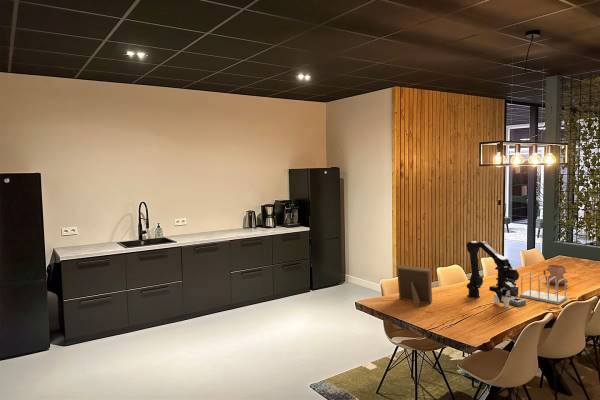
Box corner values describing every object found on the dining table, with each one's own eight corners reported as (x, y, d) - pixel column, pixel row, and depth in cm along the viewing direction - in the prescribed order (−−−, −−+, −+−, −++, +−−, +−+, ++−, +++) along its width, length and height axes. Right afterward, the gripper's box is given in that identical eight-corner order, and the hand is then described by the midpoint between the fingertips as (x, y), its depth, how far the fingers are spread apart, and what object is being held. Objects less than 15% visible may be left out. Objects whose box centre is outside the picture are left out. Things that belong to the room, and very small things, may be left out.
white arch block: (493, 303, 301) (493, 294, 300) (496, 302, 302) (496, 293, 302) (506, 307, 292) (507, 298, 292) (509, 307, 293) (509, 297, 293)
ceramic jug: (571, 284, 345) (572, 266, 344) (564, 287, 335) (565, 269, 334) (547, 280, 358) (547, 262, 357) (539, 283, 349) (540, 265, 348)
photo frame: (401, 297, 316) (401, 263, 314) (432, 302, 305) (432, 266, 303) (394, 303, 304) (394, 267, 301) (426, 308, 293) (426, 271, 290)
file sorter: (567, 299, 309) (568, 277, 307) (558, 304, 297) (559, 282, 296) (529, 291, 327) (529, 271, 326) (519, 296, 315) (520, 275, 314)
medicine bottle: (509, 297, 314) (510, 280, 313) (502, 294, 321) (503, 278, 320) (518, 296, 316) (518, 279, 315) (511, 293, 323) (511, 277, 322)
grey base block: (498, 300, 307) (498, 296, 307) (505, 298, 311) (505, 294, 311) (518, 306, 294) (518, 302, 294) (525, 304, 298) (526, 300, 298)
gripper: (504, 281, 284) (503, 305, 285) (522, 277, 293) (521, 300, 294) (489, 277, 294) (488, 301, 295) (507, 274, 303) (506, 296, 304)
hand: (501, 299), depth 297 cm, fingers closed on white arch block, 3 cm apart
